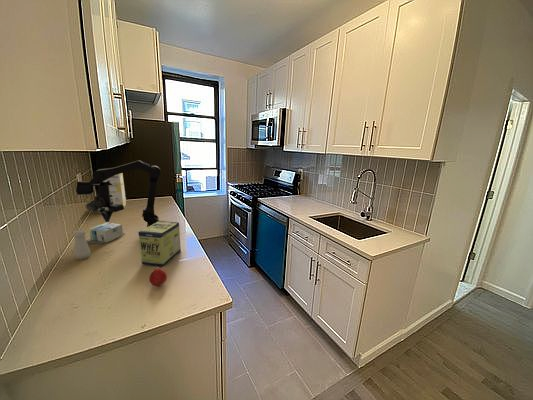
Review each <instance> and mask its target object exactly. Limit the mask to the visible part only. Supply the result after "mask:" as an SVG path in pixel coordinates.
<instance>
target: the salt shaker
mask: <svg viewBox="0 0 533 400" xmlns="http://www.w3.org/2000/svg"><path fill="white" fill-rule="evenodd" d="M72 236H73V237H74V239H75V240H74V257H75V258H76V259H77V260H80V261H81V260H85V259H88V258H89V257H90V255H91V248H90V246H89V245H88V242H87V241H86V240H87V239H86V237H85V236H86V231H85V230H84V229H78V230H75V231H73V232H72Z"/></svg>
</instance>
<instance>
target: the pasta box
mask: <svg viewBox="0 0 533 400" xmlns="http://www.w3.org/2000/svg"><path fill="white" fill-rule="evenodd" d="M108 180H109V181H110V182H112V183H113V184H112V185H109V191H110V195H112V197H110V198H111V202H113V204H112V205H115V204H122V205H123V206H124V208H125V207H126V205H127V197H126V190H125V182H124V174H123V173H121V174H117V175H115V176H112V177H111V178H109V179H107V180H105V181H103V182H107V181H108Z"/></svg>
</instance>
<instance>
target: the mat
mask: <svg viewBox="0 0 533 400" xmlns="http://www.w3.org/2000/svg"><path fill="white" fill-rule="evenodd" d="M124 235H125V233H124V232H123V235H122V236H124ZM117 238H119V237H117ZM117 238H116V239H117ZM86 241H87V243H93V244H99V245H104V244H107V243H108V242H102V241H96V240H91V238H87V239H86Z"/></svg>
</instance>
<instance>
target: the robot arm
mask: <svg viewBox="0 0 533 400" xmlns="http://www.w3.org/2000/svg"><path fill="white" fill-rule="evenodd" d="M137 169H139V170H141V171H143V172H145V173H148V174H149V175H148V177H149V186H148V195H147V204H146V206H145V207H144V206H143V207H142V215H141V217H142V218H143V221H144V222H145V223H147V224H146V228H147V227H149V226H151V225H153V224H154V223H156V222H158V221H160V218H159V216H158V215H157V214H155V201H156V193H157V186H158V185H157V184H158V182H159V179H160V176H161V173H162V171H161V168H160V167H159V166H157V165H151V164H149V163H146V162H144V161H142V160H136V161H132V162H129V163H126V164H122V165H119V166H116V167H109V168H108V167H107V168H99V169H97V170H95V171H94V172H93V173H92V178H91V179H90V181H83V180H82V181H77V182H76V191H75V192H76V194H77V195H78V196H86V195H87V196H88V195H89V196H90V195H93V193H95V194H96V195H94V198H93V199H94V200H91V201H89V202H87V203H86V204H85V208H86V210H88V211H89V212H91V211H92V212H98V213H99V214H100V215H101V216H102V218H103V221H105V223H106V222H108V223H110V220H111V217H112V215H113V213H117V212H119V211H123V210H125V207H124V206H123V205H122V204H115V205H112V204H113V202H111V198H110V197H112V195H110V191H109V185H112V184H113V183H112V182H110V181H109V180H108V181H107V182H104V181H105V180H107V179H109V178H111V177H112V176H115V175H117V174H121V173H124V174H125V173H127V172H130V171H133V170H137ZM98 182H99V183H98Z"/></svg>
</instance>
